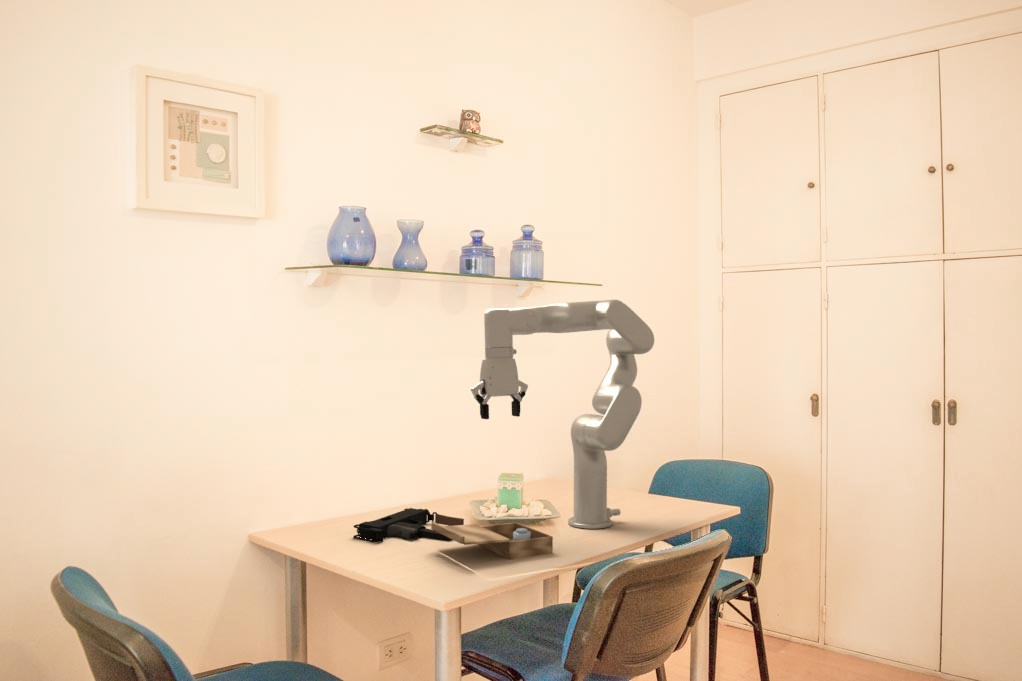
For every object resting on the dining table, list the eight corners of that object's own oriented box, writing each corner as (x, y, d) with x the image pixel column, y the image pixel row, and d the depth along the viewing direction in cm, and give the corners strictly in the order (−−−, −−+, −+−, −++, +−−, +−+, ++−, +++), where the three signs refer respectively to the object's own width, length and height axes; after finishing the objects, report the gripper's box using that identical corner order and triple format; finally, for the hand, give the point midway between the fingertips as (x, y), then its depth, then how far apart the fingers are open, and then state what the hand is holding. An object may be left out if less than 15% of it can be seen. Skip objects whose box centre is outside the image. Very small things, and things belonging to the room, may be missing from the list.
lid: (430, 521, 196) (430, 529, 196) (462, 537, 180) (462, 545, 180) (475, 519, 202) (475, 526, 202) (510, 534, 187) (510, 541, 187)
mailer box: (516, 539, 208) (516, 522, 208) (552, 555, 193) (552, 536, 193) (475, 544, 202) (475, 527, 202) (510, 561, 187) (510, 542, 187)
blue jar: (524, 543, 202) (524, 526, 202) (533, 547, 198) (533, 530, 198) (509, 545, 199) (510, 528, 200) (518, 549, 196) (518, 532, 196)
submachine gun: (487, 515, 221) (414, 502, 233) (429, 540, 196) (350, 524, 207) (487, 531, 222) (414, 518, 233) (428, 558, 196) (350, 541, 208)
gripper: (518, 352, 219) (520, 414, 220) (464, 355, 210) (465, 418, 210) (533, 353, 213) (535, 416, 213) (477, 355, 204) (479, 421, 204)
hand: (500, 417), depth 212 cm, fingers open, 9 cm apart
